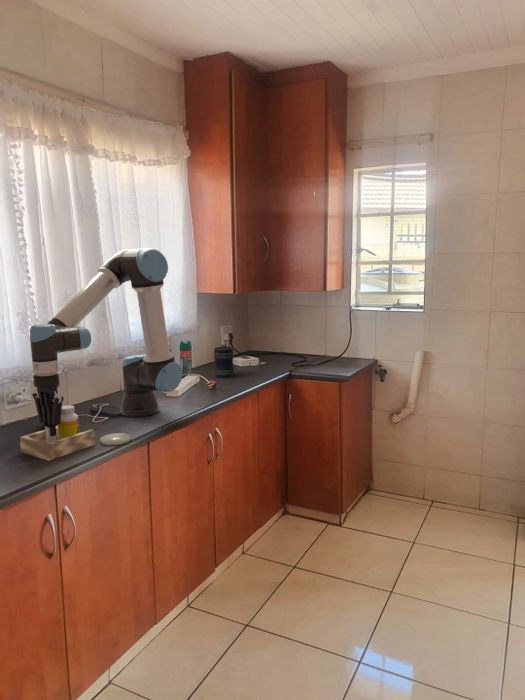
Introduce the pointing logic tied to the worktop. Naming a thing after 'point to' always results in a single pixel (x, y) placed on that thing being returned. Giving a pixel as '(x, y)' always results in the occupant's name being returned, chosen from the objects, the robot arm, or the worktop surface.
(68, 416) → the supplement bottle
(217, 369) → the dark blue canister
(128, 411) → the robot arm
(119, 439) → the sage green dome
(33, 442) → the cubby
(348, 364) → the worktop surface
